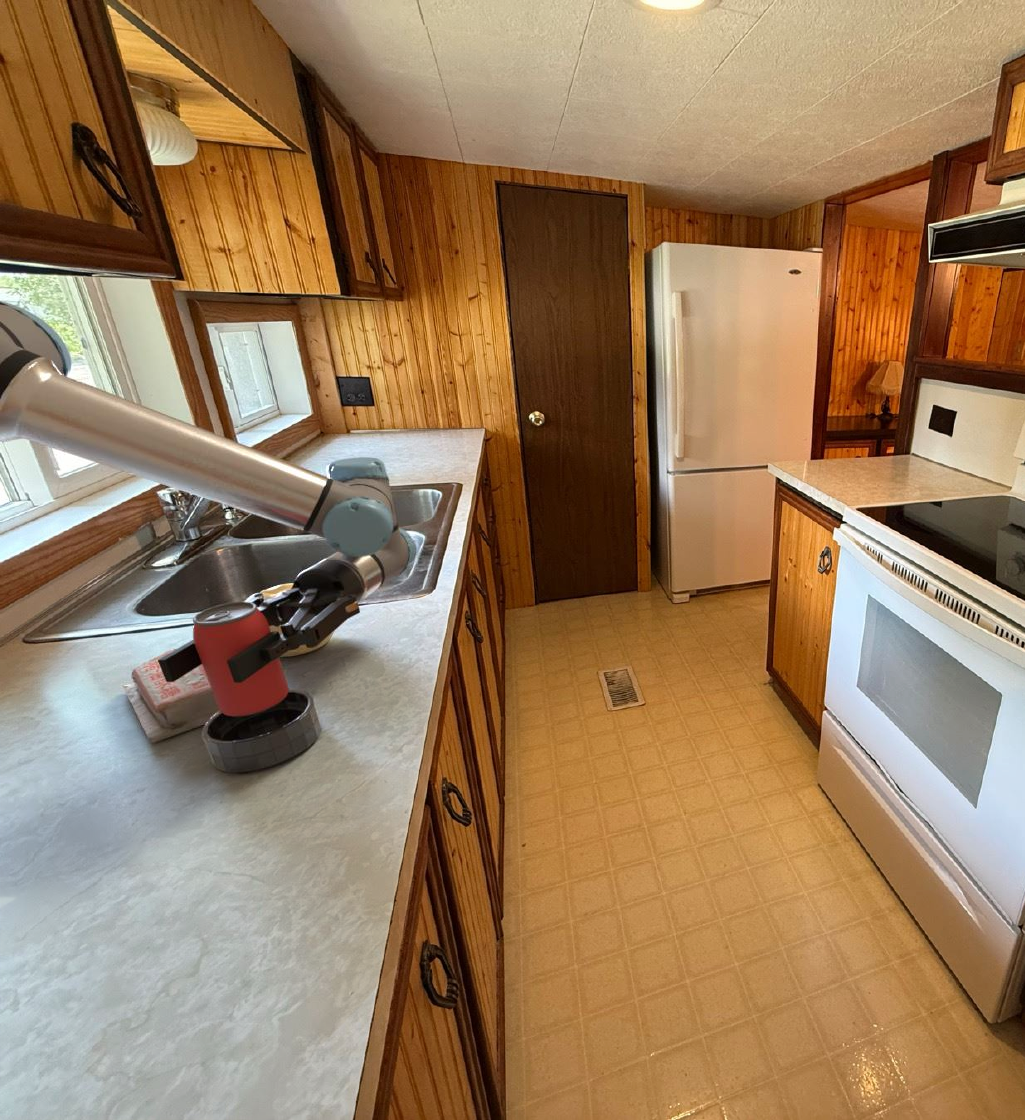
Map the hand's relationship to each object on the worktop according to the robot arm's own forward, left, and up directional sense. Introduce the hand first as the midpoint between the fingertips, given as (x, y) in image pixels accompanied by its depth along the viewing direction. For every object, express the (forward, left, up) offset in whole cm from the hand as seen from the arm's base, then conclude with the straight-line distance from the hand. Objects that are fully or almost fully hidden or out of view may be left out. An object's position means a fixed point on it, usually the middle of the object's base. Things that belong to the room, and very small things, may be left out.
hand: (200, 671), depth 64 cm
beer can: (0, +5, -8) cm, 9 cm away
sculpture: (-13, +29, -14) cm, 35 cm away
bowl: (0, +5, -14) cm, 15 cm away
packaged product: (-18, +14, -14) cm, 27 cm away
